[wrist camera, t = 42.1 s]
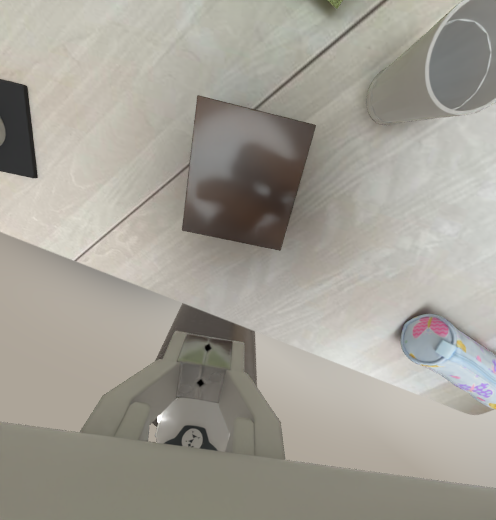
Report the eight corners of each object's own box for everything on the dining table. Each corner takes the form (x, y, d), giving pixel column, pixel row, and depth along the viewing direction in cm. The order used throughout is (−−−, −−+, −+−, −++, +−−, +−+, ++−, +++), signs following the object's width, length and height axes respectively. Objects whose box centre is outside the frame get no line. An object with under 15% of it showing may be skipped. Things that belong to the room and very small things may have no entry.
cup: (417, 130, 31) (511, 112, 20) (355, 133, 31) (415, 117, 20) (432, 54, 28) (553, -18, 17) (364, 58, 28) (439, -11, 17)
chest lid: (279, 248, 31) (280, 250, 30) (183, 228, 30) (181, 230, 29) (314, 126, 26) (316, 125, 25) (198, 97, 25) (197, 95, 24)
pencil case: (497, 352, 45) (557, 398, 36) (458, 380, 48) (506, 429, 39) (422, 299, 41) (470, 337, 32) (385, 333, 43) (419, 377, 35)
